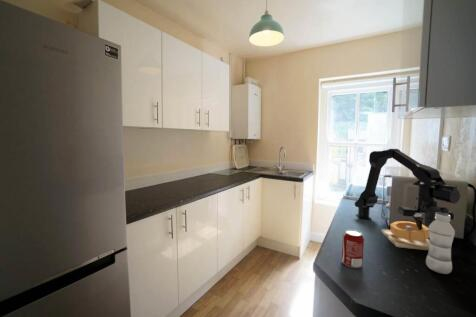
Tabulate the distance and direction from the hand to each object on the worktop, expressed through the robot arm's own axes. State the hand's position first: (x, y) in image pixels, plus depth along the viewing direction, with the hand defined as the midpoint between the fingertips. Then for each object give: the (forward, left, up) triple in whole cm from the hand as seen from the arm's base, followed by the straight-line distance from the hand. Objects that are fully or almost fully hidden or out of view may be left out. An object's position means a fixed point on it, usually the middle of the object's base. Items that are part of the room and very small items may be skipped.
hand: (423, 231), depth 97 cm
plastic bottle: (+24, -7, -5) cm, 26 cm away
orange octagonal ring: (0, -5, -2) cm, 6 cm away
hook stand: (0, -5, -5) cm, 7 cm away
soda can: (+27, -35, -5) cm, 45 cm away
